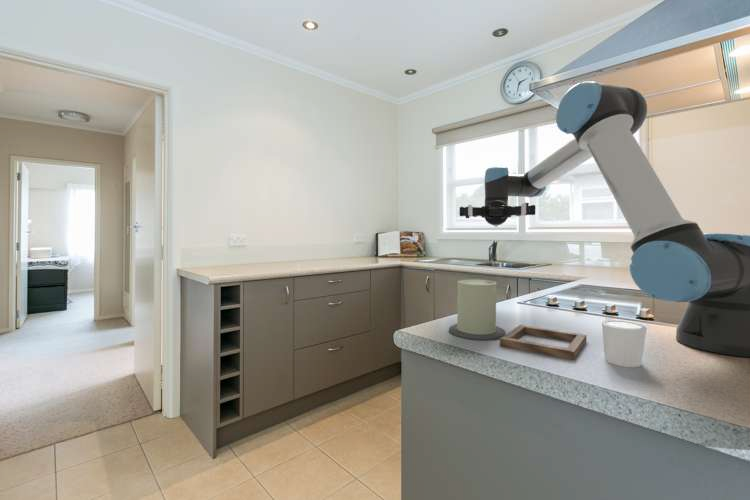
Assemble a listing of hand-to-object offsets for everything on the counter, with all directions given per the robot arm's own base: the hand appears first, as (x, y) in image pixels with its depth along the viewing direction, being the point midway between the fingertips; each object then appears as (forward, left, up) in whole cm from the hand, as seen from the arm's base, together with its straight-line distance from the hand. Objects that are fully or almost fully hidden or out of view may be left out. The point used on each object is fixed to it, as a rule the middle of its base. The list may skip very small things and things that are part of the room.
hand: (496, 209), depth 96 cm
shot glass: (-29, +14, -30) cm, 44 cm away
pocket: (-15, +12, -30) cm, 35 cm away
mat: (0, +12, -30) cm, 32 cm away
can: (0, +12, -29) cm, 32 cm away
